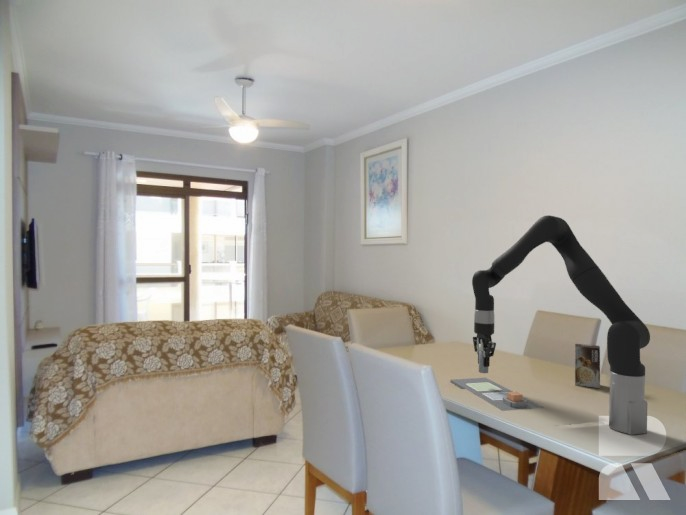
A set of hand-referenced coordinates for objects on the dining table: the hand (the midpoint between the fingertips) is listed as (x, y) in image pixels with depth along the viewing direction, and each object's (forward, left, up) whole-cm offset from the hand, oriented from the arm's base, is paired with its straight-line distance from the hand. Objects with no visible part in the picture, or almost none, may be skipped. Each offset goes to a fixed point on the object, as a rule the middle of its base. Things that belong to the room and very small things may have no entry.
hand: (483, 365), depth 184 cm
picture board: (-7, 0, -10) cm, 12 cm away
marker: (0, 0, -3) cm, 3 cm away
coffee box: (-3, -45, -10) cm, 46 cm away
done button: (-21, 0, -7) cm, 22 cm away
